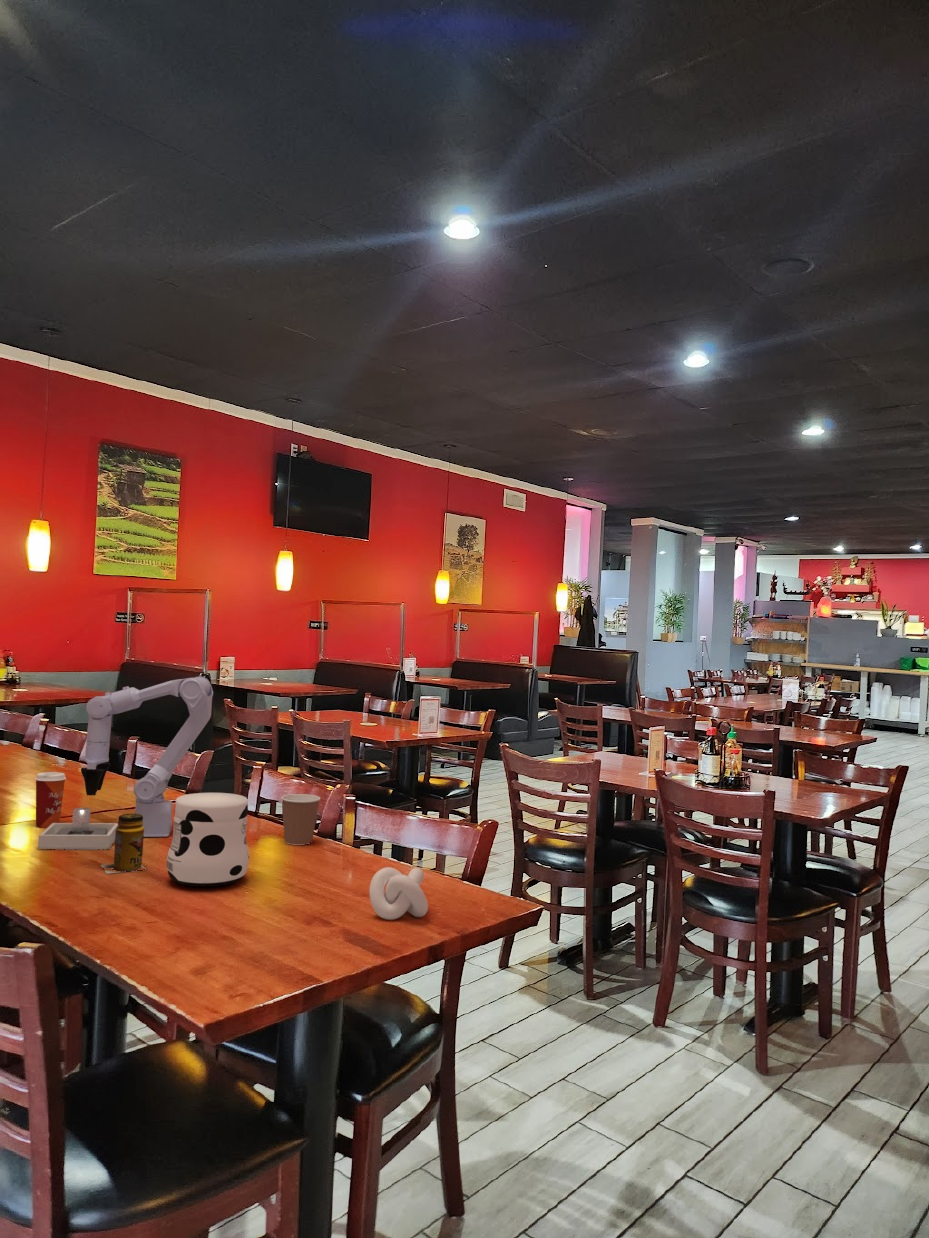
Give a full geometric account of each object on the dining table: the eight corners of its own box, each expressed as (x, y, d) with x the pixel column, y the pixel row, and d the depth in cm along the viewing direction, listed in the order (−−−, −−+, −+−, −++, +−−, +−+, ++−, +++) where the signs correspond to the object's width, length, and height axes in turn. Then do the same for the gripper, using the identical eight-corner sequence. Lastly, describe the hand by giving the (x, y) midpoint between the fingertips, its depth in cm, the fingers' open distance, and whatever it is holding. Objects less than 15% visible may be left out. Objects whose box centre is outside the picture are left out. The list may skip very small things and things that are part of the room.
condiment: (146, 870, 193) (149, 817, 193) (106, 874, 188) (110, 819, 188) (139, 862, 199) (142, 811, 199) (100, 866, 194) (103, 813, 194)
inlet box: (118, 836, 222) (119, 823, 222) (108, 849, 209) (109, 835, 209) (51, 836, 219) (52, 822, 219) (37, 850, 205) (38, 835, 205)
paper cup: (54, 829, 226) (57, 776, 227) (25, 827, 227) (29, 775, 227) (68, 823, 234) (72, 772, 235) (41, 821, 234) (44, 770, 235)
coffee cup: (322, 839, 230) (324, 795, 231) (311, 848, 220) (314, 802, 221) (285, 837, 231) (287, 792, 232) (273, 845, 221) (275, 799, 222)
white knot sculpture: (373, 926, 163) (376, 879, 163) (363, 907, 174) (365, 863, 175) (430, 924, 166) (433, 877, 166) (416, 905, 178) (419, 861, 178)
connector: (90, 839, 216) (92, 807, 216) (86, 843, 212) (88, 810, 212) (73, 839, 215) (75, 807, 215) (69, 842, 211) (71, 810, 212)
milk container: (262, 876, 193) (266, 796, 194) (220, 896, 176) (225, 809, 177) (195, 866, 198) (200, 789, 198) (148, 886, 181) (154, 801, 182)
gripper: (87, 737, 233) (82, 787, 232) (76, 744, 219) (71, 797, 218) (114, 738, 234) (110, 787, 234) (105, 745, 220) (101, 798, 220)
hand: (93, 792), depth 226 cm, fingers open, 7 cm apart
